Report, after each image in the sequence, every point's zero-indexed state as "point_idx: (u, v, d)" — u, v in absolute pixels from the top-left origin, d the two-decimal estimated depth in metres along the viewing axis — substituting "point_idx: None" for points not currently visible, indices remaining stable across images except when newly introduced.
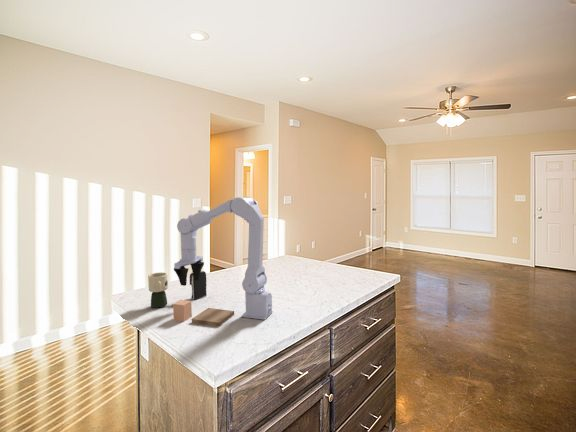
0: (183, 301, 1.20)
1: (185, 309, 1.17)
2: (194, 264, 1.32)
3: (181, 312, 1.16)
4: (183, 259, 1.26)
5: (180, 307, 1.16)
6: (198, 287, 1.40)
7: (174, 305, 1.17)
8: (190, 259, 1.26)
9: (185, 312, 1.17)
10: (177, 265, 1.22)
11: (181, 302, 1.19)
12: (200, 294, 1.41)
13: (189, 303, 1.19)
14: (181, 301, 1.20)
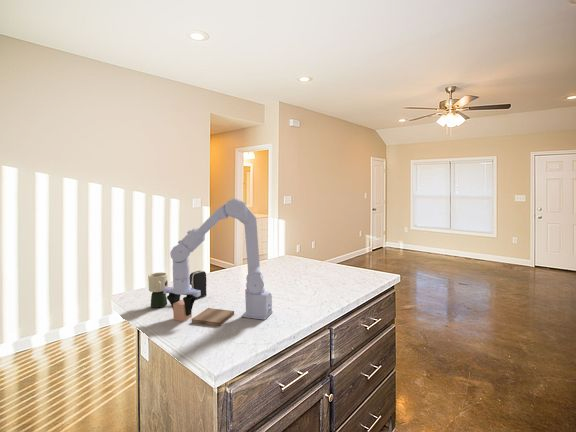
0: (183, 301, 1.20)
1: None
2: None
3: (181, 312, 1.16)
4: None
5: (180, 306, 1.16)
6: (198, 287, 1.40)
7: (174, 305, 1.17)
8: (173, 288, 1.17)
9: (185, 312, 1.17)
10: None
11: (181, 301, 1.19)
12: None
13: None
14: (181, 301, 1.20)
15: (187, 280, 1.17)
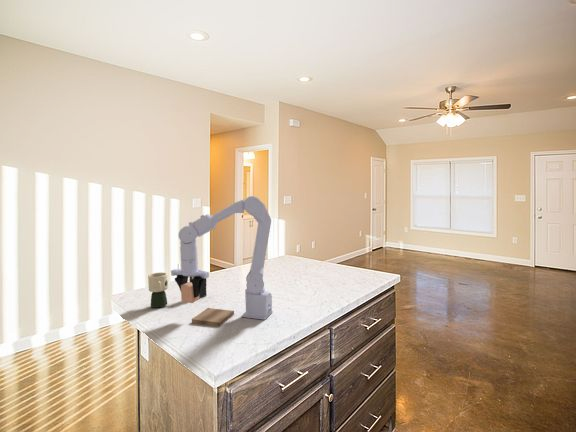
0: (191, 283, 1.19)
1: None
2: None
3: (189, 294, 1.16)
4: None
5: (187, 288, 1.16)
6: None
7: (182, 287, 1.16)
8: (181, 270, 1.16)
9: (193, 294, 1.16)
10: None
11: (189, 284, 1.18)
12: (200, 294, 1.41)
13: None
14: (189, 283, 1.19)
15: (195, 262, 1.16)
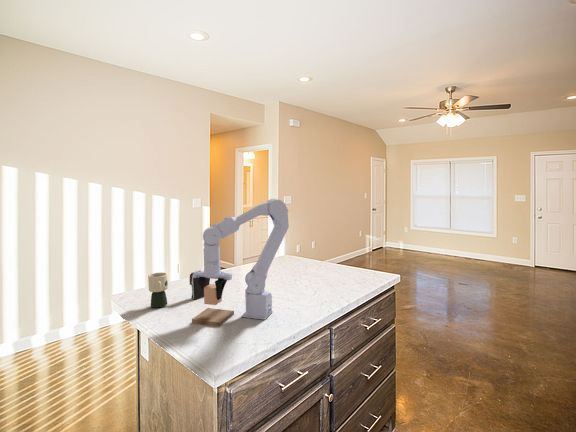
0: (213, 285, 1.19)
1: (216, 293, 1.16)
2: None
3: (212, 296, 1.15)
4: None
5: (211, 290, 1.15)
6: (198, 287, 1.40)
7: (205, 289, 1.16)
8: (204, 272, 1.16)
9: (216, 296, 1.16)
10: None
11: (212, 285, 1.18)
12: (200, 294, 1.41)
13: None
14: (211, 285, 1.19)
15: (218, 263, 1.16)
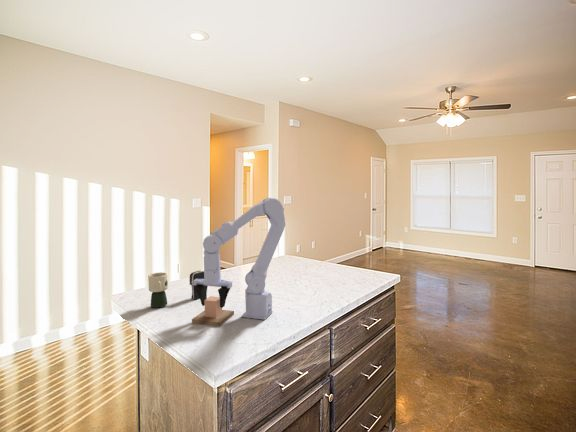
0: (214, 297, 1.19)
1: (217, 305, 1.16)
2: None
3: (213, 308, 1.16)
4: None
5: (211, 303, 1.16)
6: None
7: (205, 301, 1.16)
8: (204, 280, 1.16)
9: (217, 308, 1.17)
10: None
11: (212, 298, 1.19)
12: None
13: None
14: (212, 297, 1.19)
15: (218, 271, 1.16)
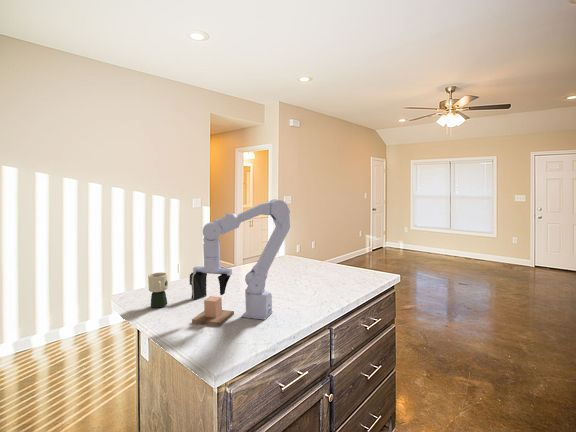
0: (213, 297, 1.19)
1: (216, 305, 1.16)
2: None
3: (212, 308, 1.16)
4: None
5: (211, 303, 1.16)
6: (198, 287, 1.40)
7: (205, 301, 1.16)
8: (204, 267, 1.16)
9: (217, 308, 1.17)
10: None
11: (212, 298, 1.18)
12: (200, 294, 1.41)
13: (220, 299, 1.19)
14: (211, 297, 1.19)
15: (218, 259, 1.16)
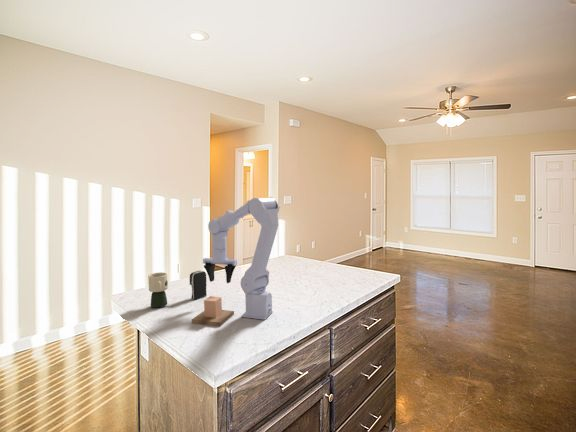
0: (213, 297, 1.19)
1: (216, 305, 1.16)
2: None
3: (212, 308, 1.16)
4: None
5: (211, 303, 1.16)
6: (198, 287, 1.40)
7: (205, 301, 1.16)
8: (212, 258, 1.30)
9: (217, 308, 1.17)
10: None
11: (212, 298, 1.19)
12: (200, 294, 1.41)
13: (219, 299, 1.19)
14: (211, 297, 1.19)
15: (225, 251, 1.30)
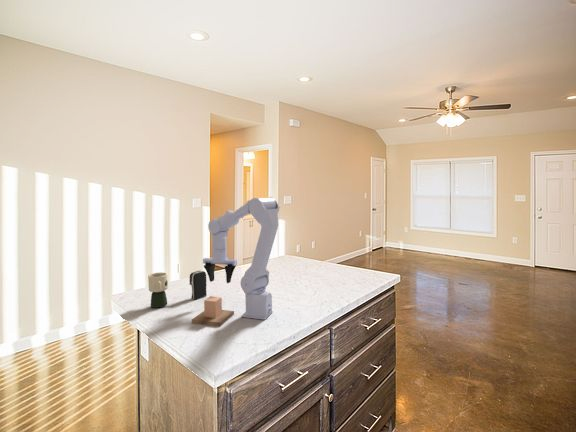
0: (213, 297, 1.19)
1: (216, 305, 1.16)
2: None
3: (212, 308, 1.16)
4: None
5: (211, 303, 1.16)
6: (198, 287, 1.40)
7: (205, 301, 1.16)
8: (212, 258, 1.30)
9: (217, 309, 1.16)
10: None
11: (212, 298, 1.18)
12: (200, 294, 1.41)
13: (220, 299, 1.18)
14: (211, 297, 1.19)
15: (225, 251, 1.30)
